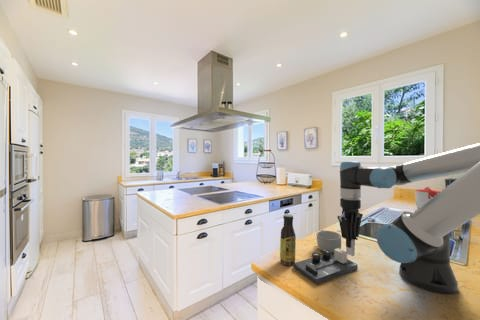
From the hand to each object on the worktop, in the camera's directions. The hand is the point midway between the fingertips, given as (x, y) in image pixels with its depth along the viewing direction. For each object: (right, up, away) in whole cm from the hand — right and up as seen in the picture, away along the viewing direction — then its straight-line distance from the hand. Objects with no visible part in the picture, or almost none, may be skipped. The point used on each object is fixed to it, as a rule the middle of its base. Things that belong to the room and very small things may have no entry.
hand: (350, 254), depth 84 cm
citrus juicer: (+108, -3, +80) cm, 134 cm away
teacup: (-4, -4, +12) cm, 14 cm away
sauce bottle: (-26, -4, 0) cm, 26 cm away
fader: (-6, -1, -3) cm, 6 cm away
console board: (-13, -4, -5) cm, 14 cm away
